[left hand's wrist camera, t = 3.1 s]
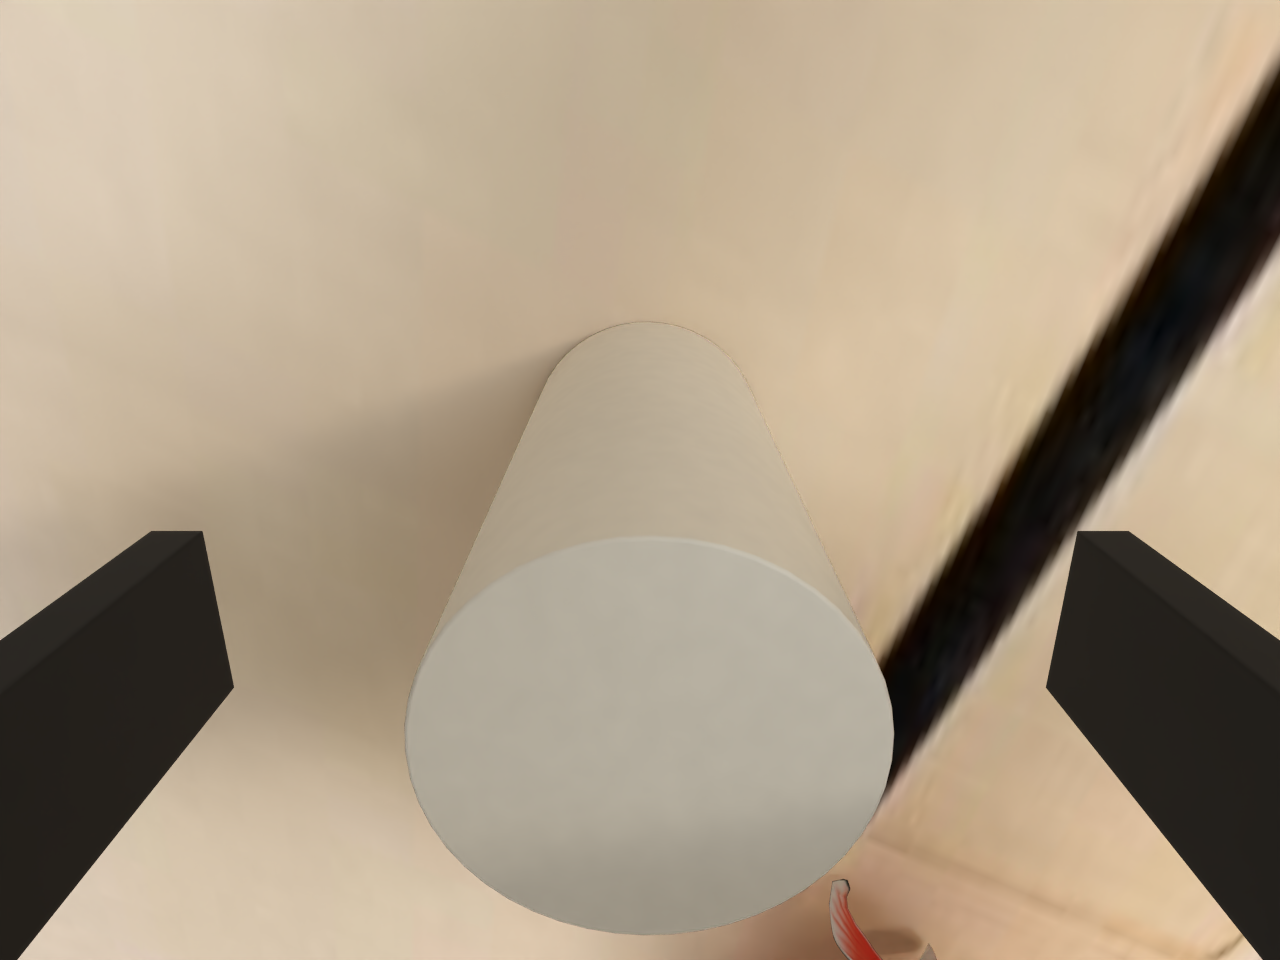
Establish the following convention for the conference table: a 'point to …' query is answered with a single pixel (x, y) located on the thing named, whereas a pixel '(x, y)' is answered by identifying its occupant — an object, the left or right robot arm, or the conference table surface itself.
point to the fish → (853, 928)
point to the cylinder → (648, 659)
